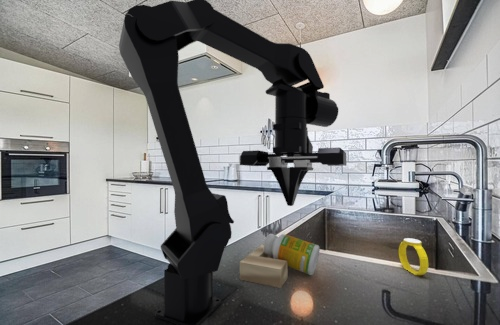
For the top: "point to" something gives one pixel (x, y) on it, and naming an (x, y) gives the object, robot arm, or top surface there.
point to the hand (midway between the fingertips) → (290, 205)
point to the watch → (421, 254)
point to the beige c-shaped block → (263, 269)
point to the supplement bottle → (293, 252)
